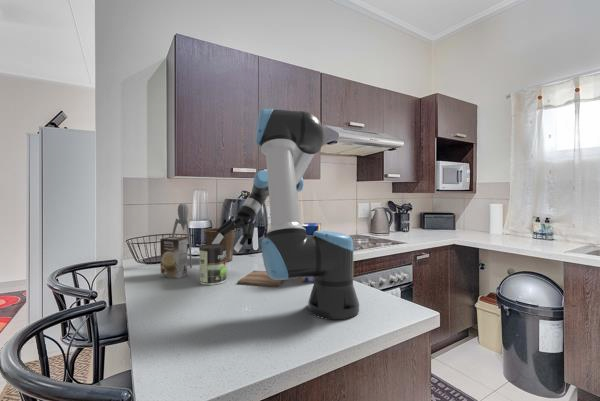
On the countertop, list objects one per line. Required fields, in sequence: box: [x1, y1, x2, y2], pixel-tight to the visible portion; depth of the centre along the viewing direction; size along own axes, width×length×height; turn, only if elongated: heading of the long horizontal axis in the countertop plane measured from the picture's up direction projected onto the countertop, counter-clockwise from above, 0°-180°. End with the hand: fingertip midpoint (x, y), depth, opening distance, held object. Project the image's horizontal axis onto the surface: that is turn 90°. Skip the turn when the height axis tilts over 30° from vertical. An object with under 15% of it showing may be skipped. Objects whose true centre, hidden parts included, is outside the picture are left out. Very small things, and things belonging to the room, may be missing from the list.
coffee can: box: [198, 244, 227, 286], centre depth 118 cm, size 10×10×14 cm
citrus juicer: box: [171, 202, 193, 269], centre depth 141 cm, size 11×10×30 cm
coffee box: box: [159, 236, 188, 279], centre depth 125 cm, size 9×6×16 cm
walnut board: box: [237, 270, 285, 288], centre depth 120 cm, size 16×16×1 cm
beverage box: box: [300, 222, 322, 283], centre depth 121 cm, size 7×11×22 cm, turn 171°
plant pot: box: [203, 227, 237, 263], centre depth 153 cm, size 16×16×16 cm
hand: (224, 248), depth 123 cm, fingers open, 13 cm apart
